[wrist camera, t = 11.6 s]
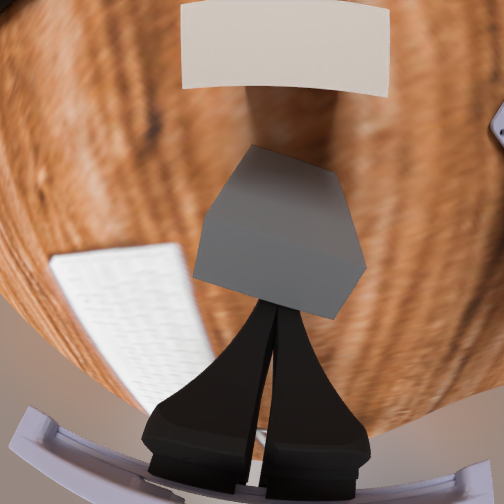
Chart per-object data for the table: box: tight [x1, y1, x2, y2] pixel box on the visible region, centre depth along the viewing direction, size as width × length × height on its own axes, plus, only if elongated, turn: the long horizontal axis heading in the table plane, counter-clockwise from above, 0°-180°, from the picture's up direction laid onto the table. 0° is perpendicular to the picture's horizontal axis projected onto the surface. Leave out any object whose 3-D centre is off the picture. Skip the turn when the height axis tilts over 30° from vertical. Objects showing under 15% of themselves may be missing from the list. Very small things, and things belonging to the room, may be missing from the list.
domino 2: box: [193, 145, 367, 320], centre depth 13 cm, size 2×5×9 cm, turn 75°
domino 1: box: [181, 0, 390, 98], centre depth 9 cm, size 2×5×9 cm, turn 90°
